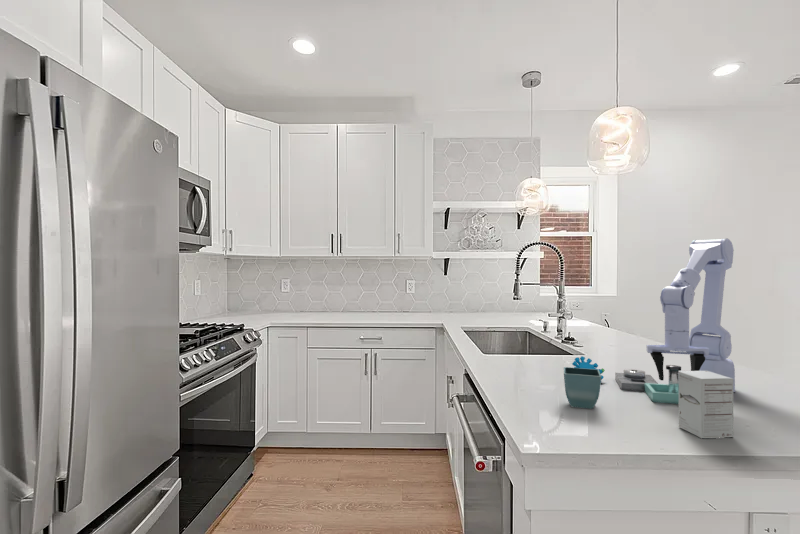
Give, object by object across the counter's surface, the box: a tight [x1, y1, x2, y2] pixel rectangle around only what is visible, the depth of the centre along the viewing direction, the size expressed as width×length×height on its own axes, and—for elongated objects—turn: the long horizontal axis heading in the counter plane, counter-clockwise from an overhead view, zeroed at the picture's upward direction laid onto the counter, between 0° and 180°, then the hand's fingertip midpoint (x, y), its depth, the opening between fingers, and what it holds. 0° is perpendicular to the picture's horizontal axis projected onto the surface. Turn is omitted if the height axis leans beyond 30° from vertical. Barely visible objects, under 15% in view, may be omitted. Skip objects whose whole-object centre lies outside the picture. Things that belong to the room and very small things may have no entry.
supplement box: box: [678, 370, 734, 439], centre depth 100 cm, size 7×7×13 cm
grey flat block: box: [614, 368, 659, 392], centre depth 142 cm, size 10×14×4 cm
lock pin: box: [665, 364, 682, 393], centre depth 127 cm, size 4×4×8 cm
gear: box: [572, 355, 605, 381], centre depth 146 cm, size 11×6×10 cm
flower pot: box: [563, 366, 602, 410], centre depth 120 cm, size 9×9×9 cm
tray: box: [644, 383, 679, 405], centre depth 127 cm, size 14×11×2 cm
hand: (677, 380), depth 127 cm, fingers open, 7 cm apart
